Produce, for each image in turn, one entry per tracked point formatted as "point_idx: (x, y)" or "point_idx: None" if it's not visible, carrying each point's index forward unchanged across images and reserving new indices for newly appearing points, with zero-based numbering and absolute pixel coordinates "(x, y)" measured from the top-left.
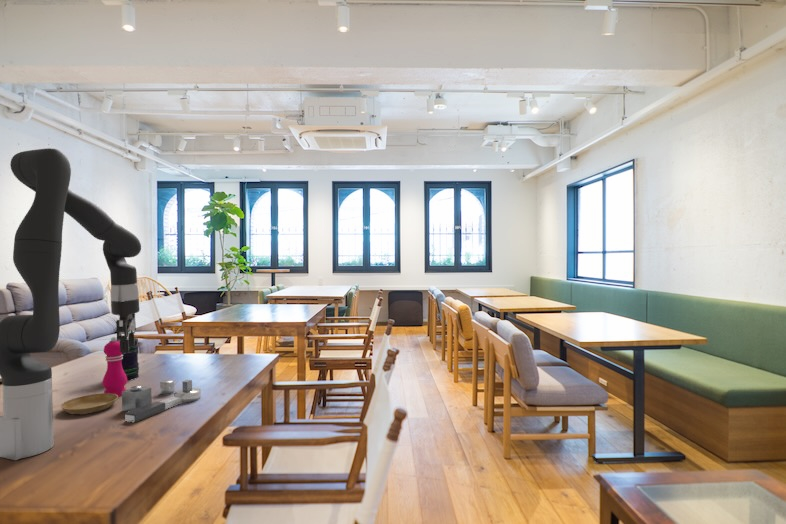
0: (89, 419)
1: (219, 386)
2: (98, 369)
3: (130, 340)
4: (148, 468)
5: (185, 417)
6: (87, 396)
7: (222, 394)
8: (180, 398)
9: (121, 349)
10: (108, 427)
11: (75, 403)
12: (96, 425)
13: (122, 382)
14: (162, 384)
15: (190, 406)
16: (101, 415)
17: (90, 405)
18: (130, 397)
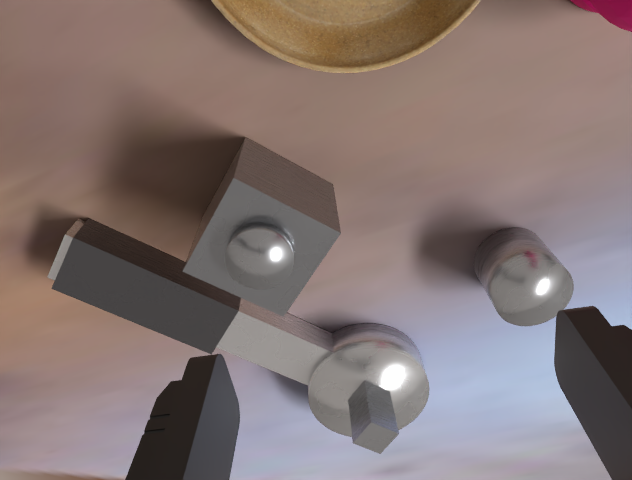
0: (122, 6)
1: (516, 439)
2: None
3: (590, 398)
4: None
5: (122, 416)
6: None
7: (387, 467)
8: (299, 378)
9: (159, 403)
10: (4, 171)
11: None
12: (29, 97)
13: (614, 21)
14: (499, 277)
15: (254, 402)
16: (184, 49)
17: None
18: (204, 225)
